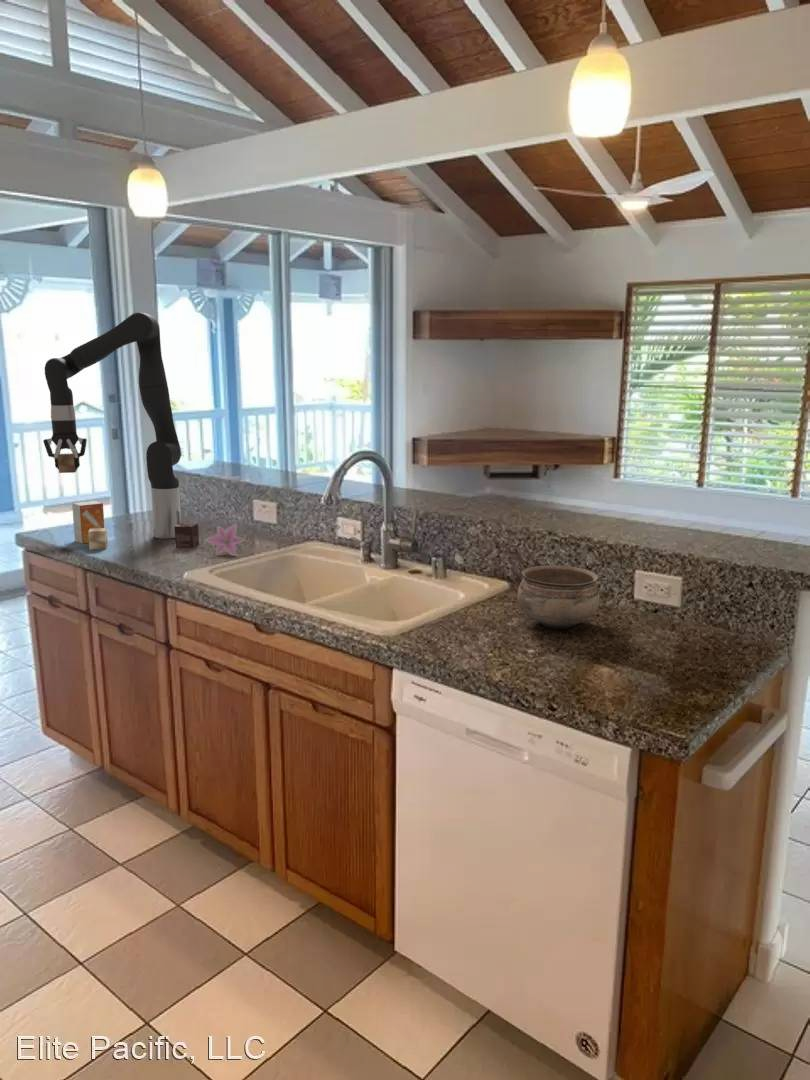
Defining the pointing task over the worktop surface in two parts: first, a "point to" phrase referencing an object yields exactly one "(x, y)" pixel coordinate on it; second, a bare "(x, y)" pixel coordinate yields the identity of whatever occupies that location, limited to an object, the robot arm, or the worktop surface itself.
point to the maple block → (97, 538)
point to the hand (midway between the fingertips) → (67, 468)
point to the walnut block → (66, 463)
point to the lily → (225, 540)
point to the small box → (87, 519)
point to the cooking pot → (558, 595)
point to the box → (186, 535)
